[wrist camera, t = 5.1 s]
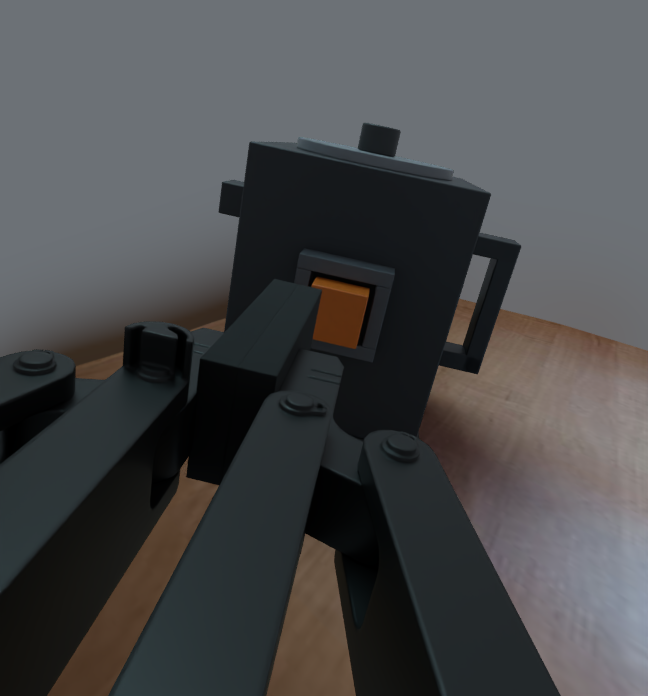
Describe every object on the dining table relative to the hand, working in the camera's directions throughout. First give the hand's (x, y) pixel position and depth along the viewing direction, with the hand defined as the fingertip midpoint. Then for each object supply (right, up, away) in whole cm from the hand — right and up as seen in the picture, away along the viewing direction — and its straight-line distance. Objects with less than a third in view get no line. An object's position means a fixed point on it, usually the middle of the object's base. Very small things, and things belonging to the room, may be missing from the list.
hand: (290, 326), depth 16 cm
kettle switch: (+1, 0, +13) cm, 13 cm away
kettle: (+1, -5, +24) cm, 24 cm away
